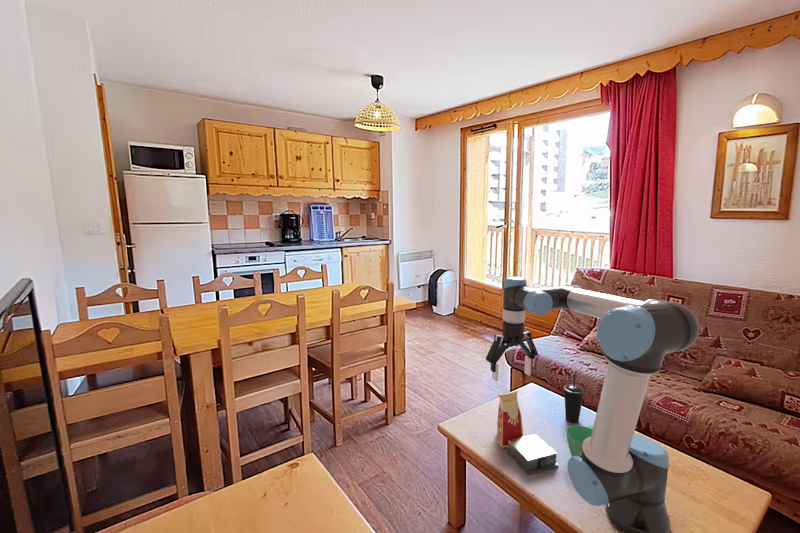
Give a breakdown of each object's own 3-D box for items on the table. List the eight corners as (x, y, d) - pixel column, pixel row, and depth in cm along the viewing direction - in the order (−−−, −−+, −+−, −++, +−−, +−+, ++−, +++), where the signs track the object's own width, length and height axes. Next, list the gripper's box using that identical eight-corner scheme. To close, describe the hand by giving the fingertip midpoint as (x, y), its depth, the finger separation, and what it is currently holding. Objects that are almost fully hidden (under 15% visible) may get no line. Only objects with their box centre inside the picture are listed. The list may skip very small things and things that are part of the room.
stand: (558, 467, 127) (559, 454, 126) (527, 475, 124) (528, 461, 123) (534, 446, 139) (535, 433, 138) (506, 452, 135) (506, 439, 134)
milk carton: (518, 434, 146) (520, 385, 143) (523, 449, 137) (525, 397, 134) (494, 432, 147) (495, 384, 144) (497, 447, 138) (499, 396, 135)
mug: (589, 473, 124) (590, 445, 123) (559, 459, 131) (561, 432, 130) (606, 454, 134) (608, 428, 132) (578, 441, 141) (580, 416, 139)
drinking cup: (557, 417, 157) (560, 371, 154) (571, 413, 160) (573, 368, 157) (573, 427, 150) (576, 379, 147) (586, 422, 153) (589, 375, 150)
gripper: (536, 314, 142) (534, 367, 145) (476, 321, 135) (475, 377, 138) (550, 319, 135) (547, 376, 138) (487, 327, 127) (486, 386, 131)
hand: (511, 377), depth 138 cm, fingers open, 13 cm apart
